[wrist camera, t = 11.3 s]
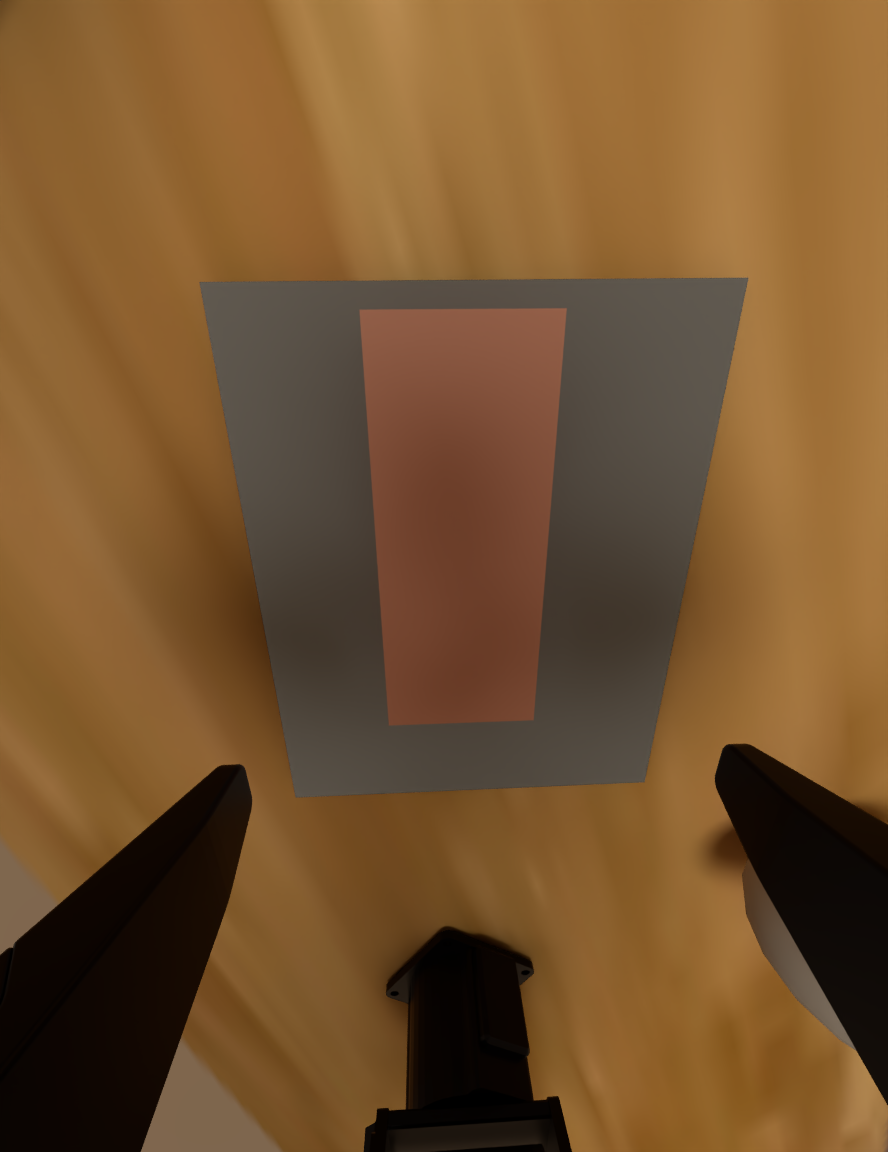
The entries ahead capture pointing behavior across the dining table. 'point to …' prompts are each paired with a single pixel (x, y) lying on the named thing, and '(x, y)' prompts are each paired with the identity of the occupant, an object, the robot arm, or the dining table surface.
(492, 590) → the tall box
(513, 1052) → the robot arm
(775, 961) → the donut
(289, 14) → the dining table surface
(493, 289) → the mat
